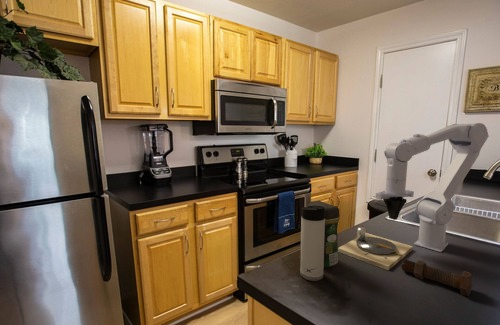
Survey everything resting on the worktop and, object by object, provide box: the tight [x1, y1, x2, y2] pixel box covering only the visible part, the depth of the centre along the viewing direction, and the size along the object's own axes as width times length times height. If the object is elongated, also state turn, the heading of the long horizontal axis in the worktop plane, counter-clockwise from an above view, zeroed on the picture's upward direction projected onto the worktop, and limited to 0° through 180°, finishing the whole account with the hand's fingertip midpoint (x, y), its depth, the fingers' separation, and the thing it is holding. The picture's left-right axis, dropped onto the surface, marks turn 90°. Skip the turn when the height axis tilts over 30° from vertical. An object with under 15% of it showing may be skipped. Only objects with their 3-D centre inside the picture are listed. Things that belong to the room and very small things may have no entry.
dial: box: [356, 226, 396, 255], centre depth 87 cm, size 12×12×5 cm
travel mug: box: [299, 206, 325, 282], centre depth 71 cm, size 6×7×20 cm
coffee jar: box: [307, 200, 341, 268], centre depth 79 cm, size 10×8×19 cm
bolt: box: [400, 259, 473, 297], centre depth 69 cm, size 6×5×15 cm
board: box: [338, 232, 414, 271], centre depth 87 cm, size 20×16×2 cm
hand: (393, 218), depth 88 cm, fingers closed
